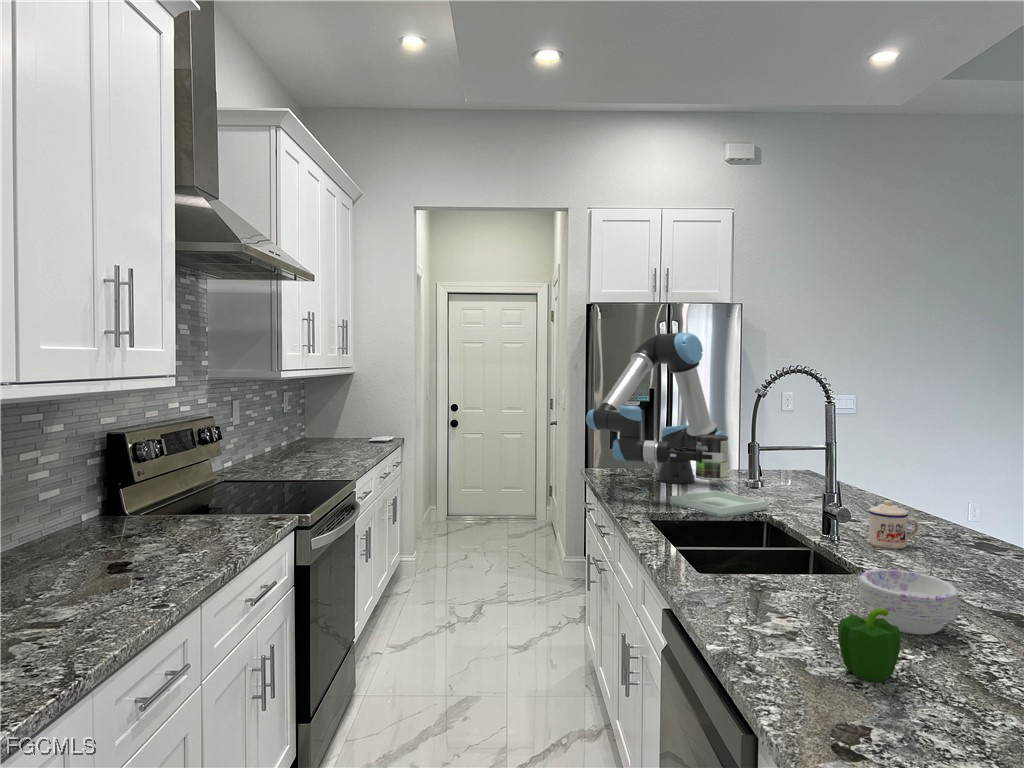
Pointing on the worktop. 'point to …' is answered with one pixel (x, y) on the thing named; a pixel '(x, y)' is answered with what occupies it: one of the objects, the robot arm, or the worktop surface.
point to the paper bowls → (909, 599)
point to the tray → (719, 503)
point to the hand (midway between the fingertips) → (725, 455)
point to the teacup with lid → (889, 526)
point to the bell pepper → (869, 645)
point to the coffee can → (712, 468)
